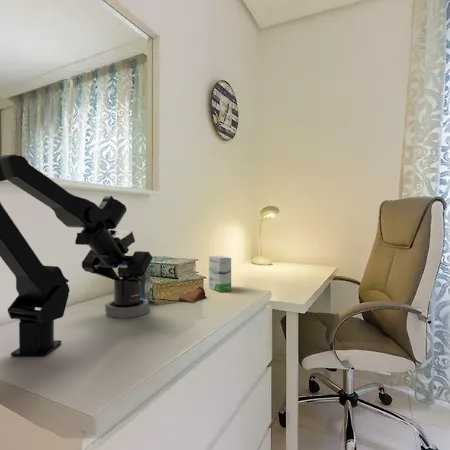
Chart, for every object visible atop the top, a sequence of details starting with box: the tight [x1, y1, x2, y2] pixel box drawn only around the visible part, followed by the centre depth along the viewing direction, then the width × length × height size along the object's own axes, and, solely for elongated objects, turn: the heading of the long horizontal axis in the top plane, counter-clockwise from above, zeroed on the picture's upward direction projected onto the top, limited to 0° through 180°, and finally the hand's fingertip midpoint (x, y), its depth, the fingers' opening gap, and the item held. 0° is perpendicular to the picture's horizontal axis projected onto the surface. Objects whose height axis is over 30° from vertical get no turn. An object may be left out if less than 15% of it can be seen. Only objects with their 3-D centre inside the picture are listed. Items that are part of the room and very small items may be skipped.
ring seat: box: [104, 298, 150, 319], centre depth 90 cm, size 11×11×2 cm
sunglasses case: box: [178, 286, 206, 304], centre depth 106 cm, size 18×7×7 cm, turn 72°
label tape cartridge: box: [118, 264, 151, 302], centre depth 101 cm, size 9×4×12 cm, turn 76°
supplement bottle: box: [113, 265, 140, 307], centre depth 90 cm, size 7×7×12 cm
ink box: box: [208, 255, 232, 293], centre depth 118 cm, size 9×5×12 cm, turn 30°
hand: (130, 280), depth 91 cm, fingers open, 9 cm apart
